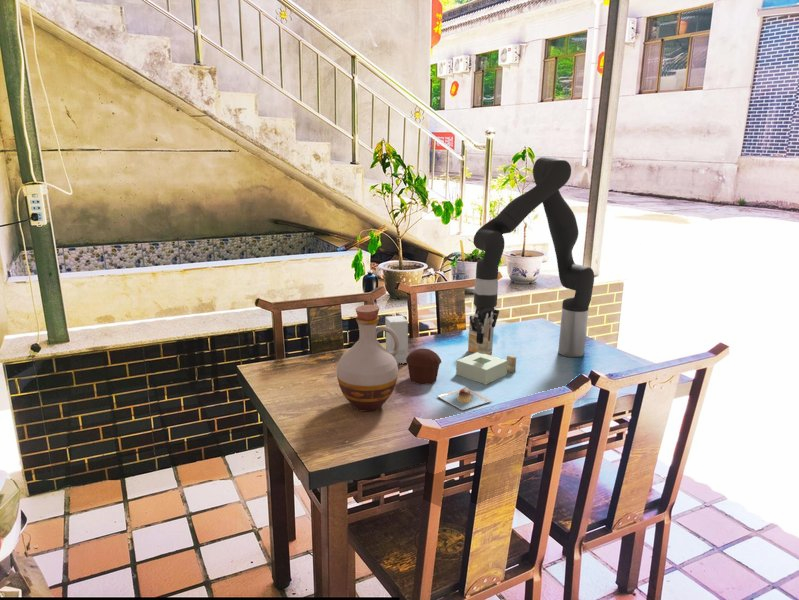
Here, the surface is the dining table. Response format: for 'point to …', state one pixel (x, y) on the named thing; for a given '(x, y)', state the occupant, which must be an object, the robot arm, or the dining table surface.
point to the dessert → (464, 396)
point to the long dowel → (484, 339)
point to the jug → (368, 364)
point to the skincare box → (401, 330)
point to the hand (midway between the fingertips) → (483, 341)
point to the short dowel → (511, 363)
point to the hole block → (481, 367)
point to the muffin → (423, 366)
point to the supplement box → (473, 343)
